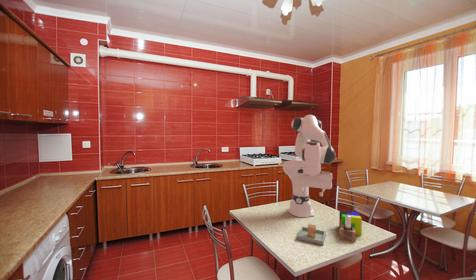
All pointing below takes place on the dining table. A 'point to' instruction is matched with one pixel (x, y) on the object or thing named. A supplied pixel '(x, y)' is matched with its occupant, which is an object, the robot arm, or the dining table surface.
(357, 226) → the puzzle toy
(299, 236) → the tray
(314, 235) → the oak block
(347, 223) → the cylinder
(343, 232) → the brown square socket box
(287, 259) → the dining table surface
